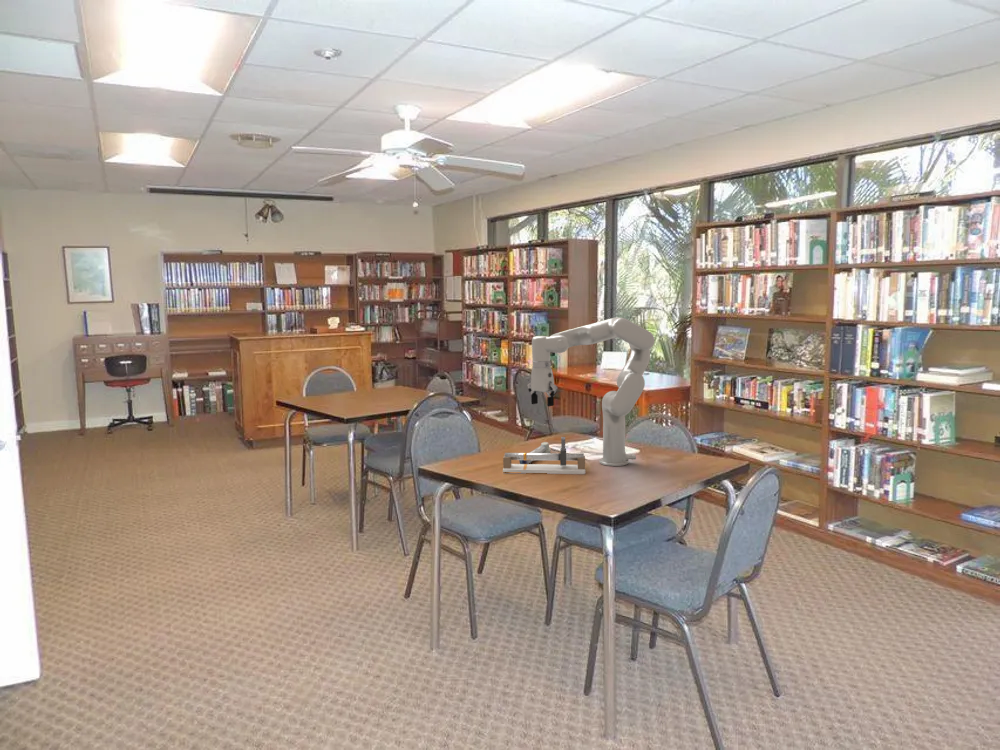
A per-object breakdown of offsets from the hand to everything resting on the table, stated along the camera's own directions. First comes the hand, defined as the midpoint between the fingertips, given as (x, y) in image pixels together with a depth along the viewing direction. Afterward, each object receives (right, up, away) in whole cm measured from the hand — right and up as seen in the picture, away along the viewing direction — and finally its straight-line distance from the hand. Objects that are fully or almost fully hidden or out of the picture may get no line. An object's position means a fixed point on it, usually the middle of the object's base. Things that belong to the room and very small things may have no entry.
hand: (542, 404), depth 300 cm
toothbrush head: (-2, -26, +16) cm, 30 cm away
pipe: (0, -23, -5) cm, 24 cm away
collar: (+8, -24, -6) cm, 27 cm away
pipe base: (0, -27, -5) cm, 28 cm away
